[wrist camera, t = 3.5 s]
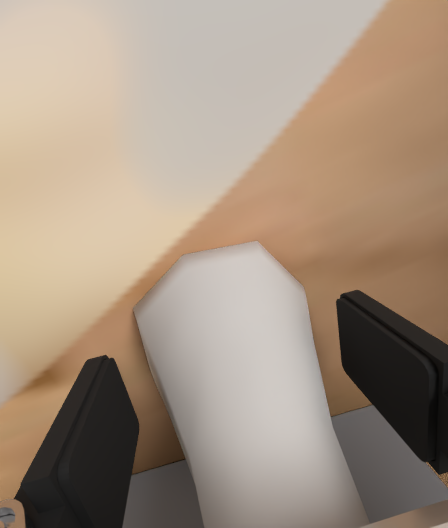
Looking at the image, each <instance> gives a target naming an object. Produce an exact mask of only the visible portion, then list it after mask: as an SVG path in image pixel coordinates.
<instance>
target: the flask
mask: <svg viewBox="0 0 448 528" xmlns="http://www.w3.org/2000/svg"><path fill="white" fill-rule="evenodd" d="M133 310H134V314H135V317H136V321H137V325H138V328H139V332H140V335H141V339H142V342H143V346H144V350H145V353H146V357H147V360H148V364H149V367H150V371H151V373H152V376H153V379H154V381H155V384H156V386H157V388H158V391H159V393H160V395H161V398H162V400H163V402H164V404H165V407H166V409H167V411H168V414H169V416H170V418H171V421H172V423H173V426H174V429H175V431H176V434H177V437H178V439H179V442H180V445H181V447H182V450H183V453H184V456H185V458H186V461H187V464H188V466H189V469H190V472H191V474H192V477H193V480H194V482H195V486H196V490H197V495H198V500H199V505H200V509H201V514H202V519H203V524H204V528H359V527H362V526H366V525H369V524H370V522H369V519H368V517H367V514H366V512H365V509H364V507H363V504H362V501H361V499H360V496H359V494H358V491H357V488H356V486H355V483H354V481H353V478H352V475H351V473H350V470H349V468H348V465H347V463H346V460H345V457H344V455H343V452H342V450H341V447H340V444H339V442H338V439H337V437H336V434H335V431H334V429H333V425H332V421H331V416H330V412H329V407H328V403H327V399H326V394H325V390H324V385H323V381H322V376H321V372H320V367H319V363H318V358H317V354H316V349H315V345H314V340H313V334H312V328H311V322H310V316H309V310H308V304H307V299H306V294H305V290H304V287H303V286H302V285H301V284H300V283H299V282H298V281H297V280H296V279H295V278H294V277H293V276H292V275H291V274H290V273H289V272H288V271H287V270H286V269H285V268H284V267H283V266H282V265H281V264H280V263H279V262H278V261H277V260H276V259H275V258H274V257H273V256H272V255H271V254H270V253H269V252H268V251H267V250H266V249H265V248H264V247H263V246H262V245H261V244H260V243H259V242H258V241H254V242H248V243H243V244H238V245H232V246H227V247H221V248H216V249H211V250H205V251H200V252H194V253H189V254H184V255H182V256H181V257H180V258H179V259H178V260H177V262H176V263H175V264H174V265H173V266H172V267H171V268H170V269H169V270H168V271H167V272H166V273H165V274H164V275H163V276H162V277H161V279H160V280H159V281H158V282H157V283H156V284H155V285H154V286H153V287H152V288H151V289H150V290H149V291H148V292H147V293H146V294H145V296H144V297H143V298H142V299H141V300H140V301H139V302H138V303H137V304H136V305H135V306H134V307H133Z"/></svg>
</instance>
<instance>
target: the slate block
mask: <svg viewBox="0 0 448 528" xmlns="http://www.w3.org/2000/svg"><path fill="white" fill-rule="evenodd" d="M331 421H332V425H333V429H334V431H335V434H336V437H337V439H338V442H339V444H340V447H341V450H342V452H343V455H344V457H345V460H346V463H347V465H348V468H349V470H350V473H351V475H352V478H353V481H354V483H355V486H356V488H357V491H358V494H359V496H360V499H361V501H362V504H363V507H364V509H365V512H366V514H367V517H368V519H369V522H370V524H372V523H375V522H378V521H381V520H384V519H387V518H390V517H394V516H397V515H400V514H403V513H406V512H409V511H412V510H416V509H419V508H422V507H425V506H428V505H431V504H434V503H438V502H441V501H444V500H447V499H448V488H447V487H446V486H445V485H444V483H443V482H442V481H441V480H440V479H439V478H438V476H437V475H436V474H435V473H434V472H433V471H432V469H431V468H430V467H429V466H428V465H427V464H426V462H423V461H421V460H420V459H419V458H418V457H417V456H416V455H415V454H414V452H413V451H412V450H411V449H410V448H409V447H408V445H407V444H406V443H405V442H404V441H403V440H402V438H401V437H400V436H399V435H398V434H397V432H396V431H395V430H394V429H393V428H392V427H391V425H390V424H389V423H388V422H387V421H386V420H385V418H384V417H383V416H382V415H381V414H380V412H379V411H378V410H377V409H376V408H375V407H374V405H371V406H368V407H364V408H361V409H357V410H354V411H350V412H347V413H344V414H340V415H337V416H333V417H331ZM122 528H204V524H203V519H202V514H201V509H200V505H199V500H198V495H197V490H196V486H195V482H194V480H193V477H192V474H191V472H190V469H189V466H188V464H187V461H186V460H182V461H179V462H175V463H172V464H168V465H165V466H162V467H158V468H155V469H151V470H148V471H144V472H141V473H137V474H134V475H131V480H130V486H129V492H128V498H127V504H126V509H125V515H124V521H123V527H122Z"/></svg>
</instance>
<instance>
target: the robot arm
mask: <svg viewBox="0 0 448 528" xmlns="http://www.w3.org/2000/svg"><path fill="white" fill-rule="evenodd" d="M336 306H337V317H338V328H339V339H340V350H341V361H342V366H343V368H344V371H345V372H346V374H347V375H348V376H349V377H350V378H351V380H352V381H353V382H354V383H355V384H356V385H357V387H358V388H359V389H360V390H361V391H362V393H363V394H364V395H365V396H366V397H367V398H368V400H369V401H370V402H371V403H372V404H373V405H374V407H375V408H376V409H377V410H378V411H379V412H380V414H381V415H382V416H383V417H384V418H385V420H386V421H387V422H388V423H389V424H390V425H391V427H392V428H393V429H394V430H395V431H396V432H397V434H398V435H399V436H400V437H401V438H402V440H403V441H404V442H405V443H406V444H407V445H408V447H409V448H410V449H411V450H412V451H413V452H414V454H415V455H416V456H417V457H418V458H419V459H420V460H421V461H423V462H428V463H429V464H430V465H431V466H432V467H433V468H434V470H435V471H436V472H437V473H438V474H439V475H440V474H443V473H446V472H448V345H447V344H445V343H444V342H442V341H440V340H439V339H437V338H435V337H434V336H432V335H431V334H429V333H427V332H426V331H424V330H423V329H421V328H419V327H418V326H416V325H414V324H413V323H411V322H410V321H408V320H406V319H405V318H403V317H402V316H400V315H398V314H397V313H395V312H393V311H392V310H390V309H389V308H387V307H385V306H384V305H382V304H381V303H379V302H377V301H376V300H374V299H372V298H371V297H369V296H368V295H366V294H364V293H363V292H361V291H359V290H355V291H351V292H347V293H343V294H341V295H340V299H337V301H336ZM138 434H139V422H138V419H137V416H136V413H135V411H134V408H133V406H132V403H131V400H130V398H129V395H128V393H127V390H126V388H125V385H124V382H123V380H122V377H121V375H120V372H119V370H118V367H117V364H116V362H115V360H114V359H113V358H110V359H109V358H108V356H106V355H104V356H100V357H96V358H92V359H88V360H87V361H86V362H85V364H84V366H83V368H82V370H81V372H80V374H79V375H78V377H77V379H76V381H75V383H74V385H73V387H72V388H71V390H70V392H69V394H68V396H67V398H66V400H65V402H64V403H63V405H62V407H61V409H60V411H59V413H58V415H57V417H56V418H55V420H54V422H53V424H52V426H51V428H50V430H49V432H48V433H47V435H46V437H45V439H44V441H43V443H42V445H41V447H40V448H39V450H38V452H37V454H36V456H35V458H34V460H33V462H32V463H31V465H30V467H29V469H28V471H27V473H26V475H25V477H24V478H23V480H22V482H21V484H20V485H21V486H20V488H19V490H18V492H17V494H16V496H15V498H14V499H10V500H4V501H1V502H0V528H122V527H123V521H124V515H125V509H126V504H127V498H128V492H129V486H130V480H131V475H132V469H133V463H134V457H135V452H136V446H137V440H138ZM359 528H448V499H447V500H444V501H441V502H438V503H434V504H431V505H428V506H425V507H422V508H419V509H416V510H412V511H409V512H406V513H403V514H400V515H397V516H394V517H390V518H387V519H384V520H381V521H378V522H375V523H372V524H369V525H366V526H362V527H359Z"/></svg>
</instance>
